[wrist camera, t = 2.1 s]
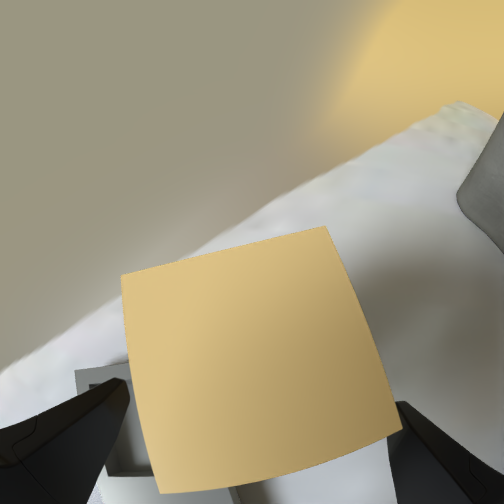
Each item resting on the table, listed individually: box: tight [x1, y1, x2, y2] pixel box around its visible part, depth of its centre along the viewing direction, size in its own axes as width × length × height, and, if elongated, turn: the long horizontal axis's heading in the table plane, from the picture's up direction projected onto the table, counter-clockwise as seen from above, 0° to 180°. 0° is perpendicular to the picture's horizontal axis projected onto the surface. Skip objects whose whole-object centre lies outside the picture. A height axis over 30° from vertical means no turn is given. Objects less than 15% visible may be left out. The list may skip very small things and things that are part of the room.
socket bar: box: [75, 363, 241, 504], centre depth 13 cm, size 14×8×3 cm, turn 15°
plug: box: [121, 226, 403, 494], centre depth 10 cm, size 4×4×14 cm
